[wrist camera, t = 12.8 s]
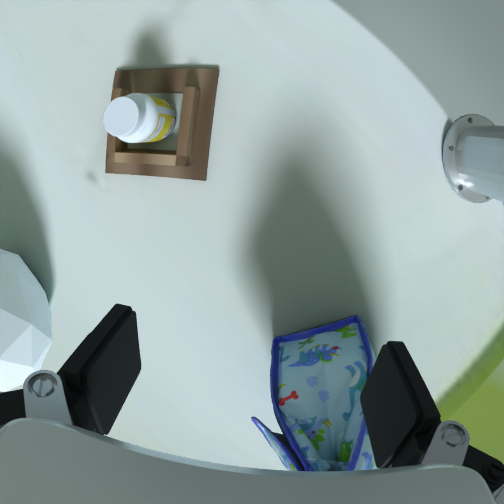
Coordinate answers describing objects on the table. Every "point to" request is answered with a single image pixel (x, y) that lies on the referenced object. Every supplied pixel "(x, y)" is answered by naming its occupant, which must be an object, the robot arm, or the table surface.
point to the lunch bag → (321, 398)
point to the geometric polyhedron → (21, 322)
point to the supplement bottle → (139, 118)
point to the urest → (185, 133)
